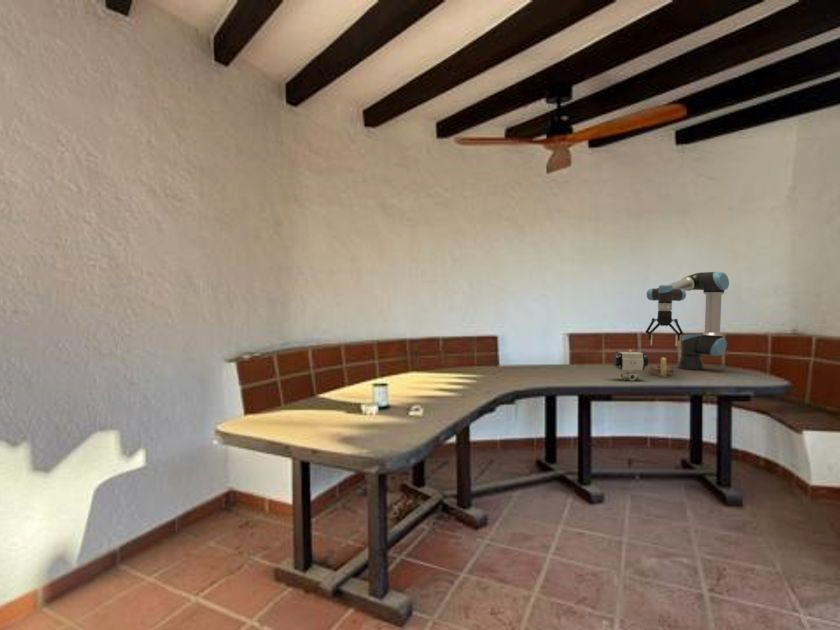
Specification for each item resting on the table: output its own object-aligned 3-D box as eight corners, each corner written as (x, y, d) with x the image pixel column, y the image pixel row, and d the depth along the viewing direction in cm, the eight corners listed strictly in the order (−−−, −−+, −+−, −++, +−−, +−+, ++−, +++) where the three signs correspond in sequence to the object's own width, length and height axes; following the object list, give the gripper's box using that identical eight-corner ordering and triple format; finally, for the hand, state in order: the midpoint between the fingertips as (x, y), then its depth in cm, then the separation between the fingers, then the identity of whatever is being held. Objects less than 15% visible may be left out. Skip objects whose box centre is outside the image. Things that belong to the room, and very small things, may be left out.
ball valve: (616, 381, 278) (617, 350, 277) (612, 378, 287) (612, 349, 286) (648, 381, 277) (649, 351, 276) (643, 378, 285) (643, 349, 285)
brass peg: (665, 377, 291) (666, 357, 290) (666, 378, 288) (666, 358, 288) (660, 376, 292) (660, 357, 292) (660, 377, 289) (661, 357, 289)
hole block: (669, 372, 309) (670, 366, 309) (673, 376, 294) (673, 369, 294) (649, 371, 313) (649, 365, 313) (651, 375, 298) (651, 368, 298)
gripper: (642, 310, 290) (641, 345, 291) (689, 311, 280) (688, 347, 281) (641, 309, 297) (640, 343, 298) (687, 310, 287) (686, 346, 288)
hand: (663, 345), depth 289 cm, fingers open, 13 cm apart
